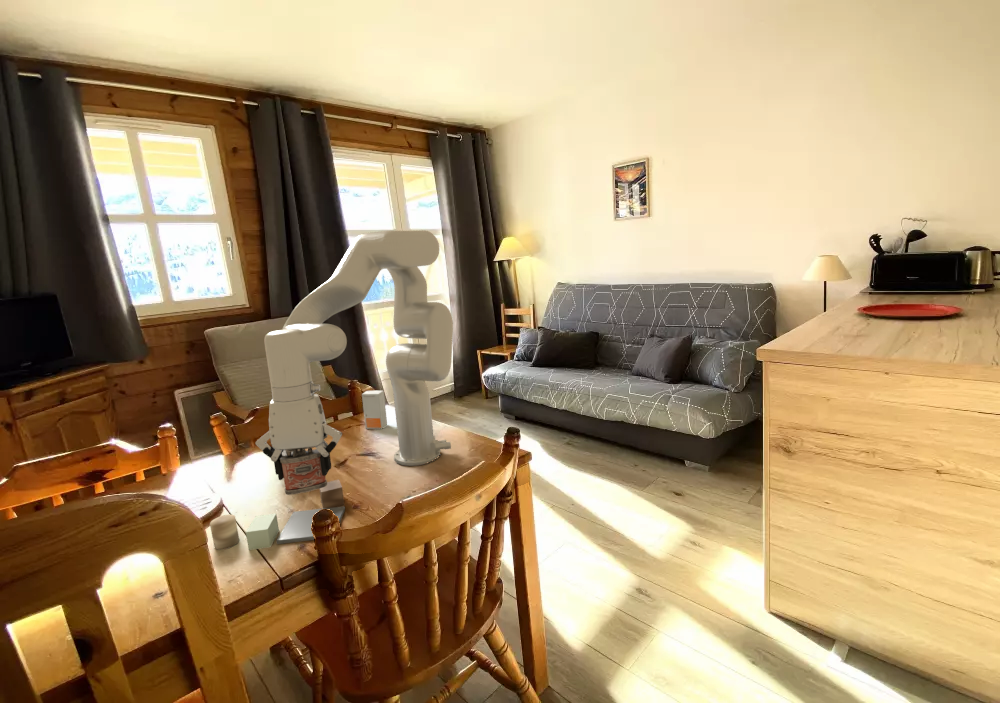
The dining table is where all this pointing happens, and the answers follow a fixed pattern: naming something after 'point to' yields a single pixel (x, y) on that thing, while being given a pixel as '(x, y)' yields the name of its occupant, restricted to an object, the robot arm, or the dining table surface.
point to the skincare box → (374, 409)
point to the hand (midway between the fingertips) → (304, 474)
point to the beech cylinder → (224, 532)
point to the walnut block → (332, 495)
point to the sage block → (262, 531)
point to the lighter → (302, 471)
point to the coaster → (303, 525)
